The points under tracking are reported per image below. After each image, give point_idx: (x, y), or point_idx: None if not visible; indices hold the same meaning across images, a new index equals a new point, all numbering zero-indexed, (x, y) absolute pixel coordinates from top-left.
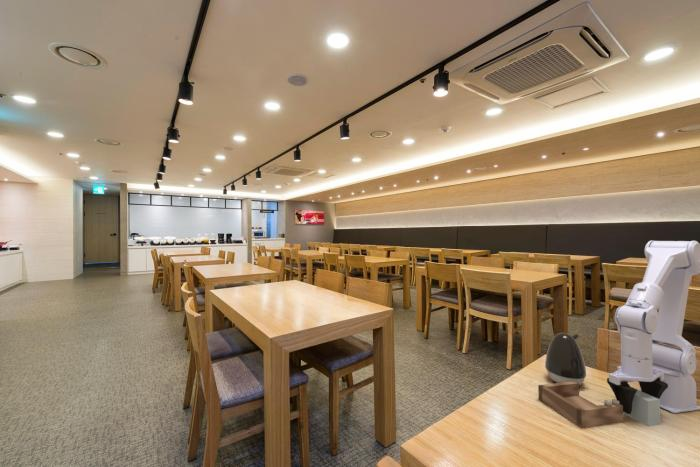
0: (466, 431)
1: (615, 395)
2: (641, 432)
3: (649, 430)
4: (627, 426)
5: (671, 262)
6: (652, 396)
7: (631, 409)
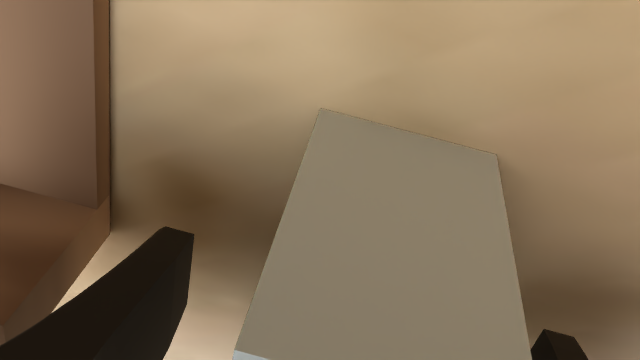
0: None
1: (27, 336)
2: None
3: (205, 354)
4: (86, 266)
5: None
6: None
7: (159, 357)
